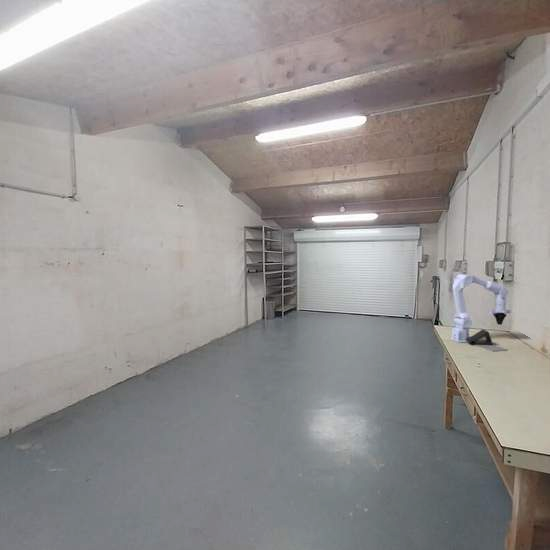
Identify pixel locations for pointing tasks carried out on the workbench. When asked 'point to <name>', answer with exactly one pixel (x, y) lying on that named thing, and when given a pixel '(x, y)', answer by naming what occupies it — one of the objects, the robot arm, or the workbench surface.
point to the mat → (492, 347)
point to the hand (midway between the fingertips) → (499, 324)
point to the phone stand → (479, 335)
